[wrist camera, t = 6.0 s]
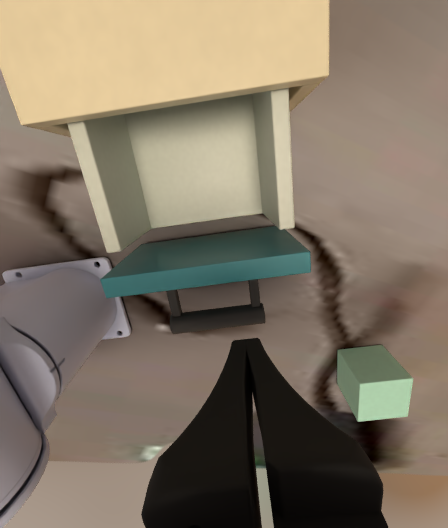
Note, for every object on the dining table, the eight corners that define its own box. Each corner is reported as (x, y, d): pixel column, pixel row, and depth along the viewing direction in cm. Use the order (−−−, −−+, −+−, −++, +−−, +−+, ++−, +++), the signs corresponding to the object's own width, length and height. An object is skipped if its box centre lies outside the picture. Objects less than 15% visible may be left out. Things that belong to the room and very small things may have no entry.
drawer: (284, 289, 22) (312, 341, 15) (157, 305, 22) (127, 363, 15) (268, 34, 16) (303, -74, 9) (94, 64, 16) (0, -17, 9)
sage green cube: (336, 383, 27) (357, 421, 22) (337, 349, 25) (359, 384, 21) (378, 378, 26) (407, 416, 22) (381, 344, 25) (413, 378, 21)
